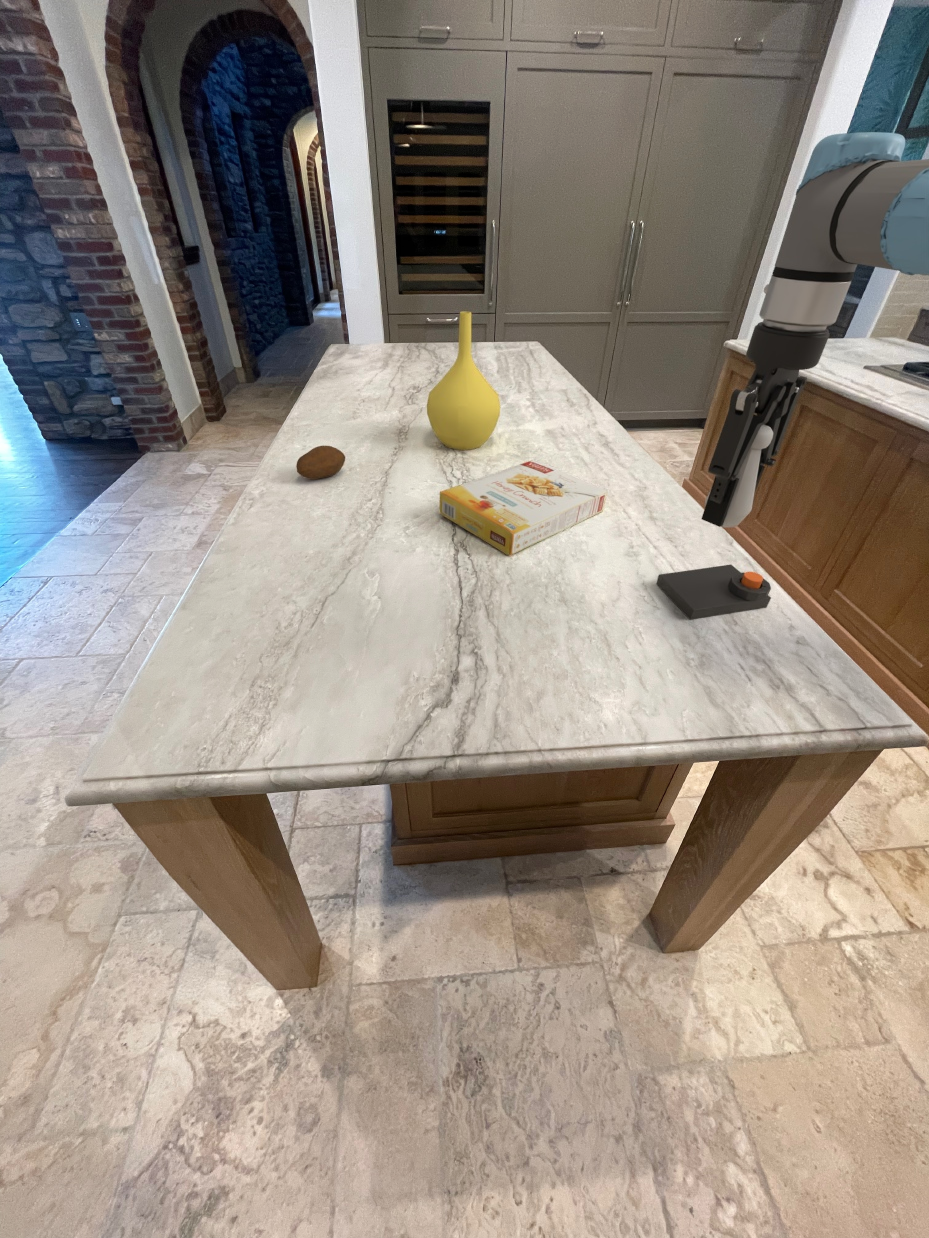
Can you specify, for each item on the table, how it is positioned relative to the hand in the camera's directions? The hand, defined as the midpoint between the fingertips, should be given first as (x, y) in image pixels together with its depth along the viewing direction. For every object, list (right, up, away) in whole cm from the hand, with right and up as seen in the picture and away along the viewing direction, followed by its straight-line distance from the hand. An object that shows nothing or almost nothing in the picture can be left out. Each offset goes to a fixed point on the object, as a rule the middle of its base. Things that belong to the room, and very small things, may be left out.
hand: (724, 515), depth 73 cm
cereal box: (-24, +7, +36) cm, 43 cm away
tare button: (+10, -9, +12) cm, 18 cm away
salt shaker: (0, -1, +1) cm, 1 cm away
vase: (-36, +31, +66) cm, 81 cm away
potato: (-67, +18, +48) cm, 84 cm away
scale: (+5, -10, +15) cm, 19 cm away
